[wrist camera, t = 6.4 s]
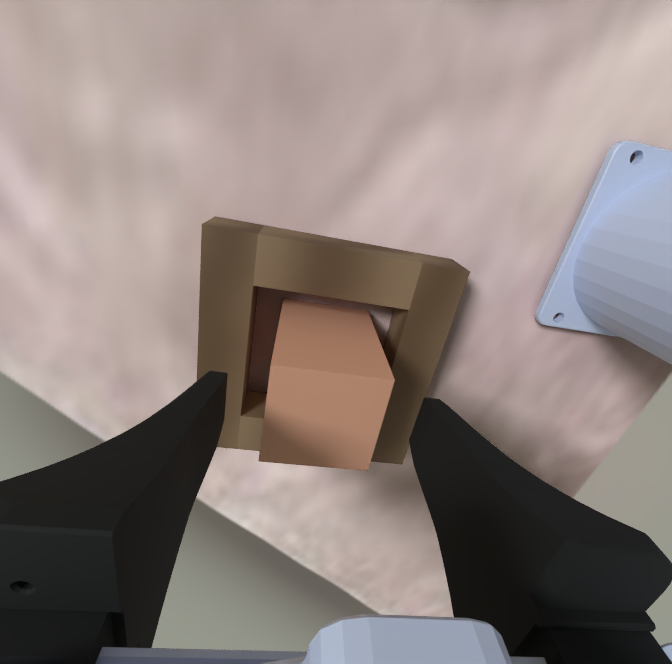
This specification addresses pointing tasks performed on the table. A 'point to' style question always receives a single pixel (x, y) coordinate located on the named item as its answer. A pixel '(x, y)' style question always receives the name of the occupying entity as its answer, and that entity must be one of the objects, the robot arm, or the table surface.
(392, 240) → the table surface
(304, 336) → the terracotta block
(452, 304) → the walnut collar
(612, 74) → the table surface
